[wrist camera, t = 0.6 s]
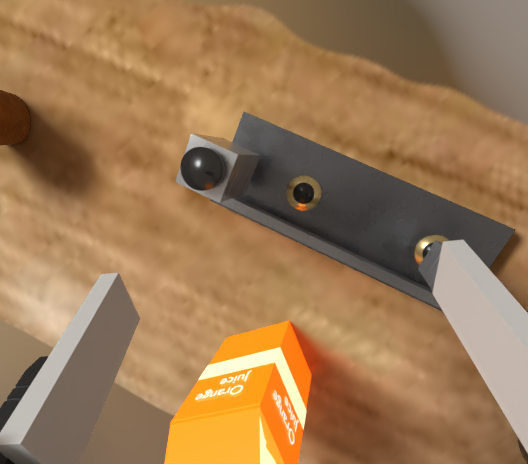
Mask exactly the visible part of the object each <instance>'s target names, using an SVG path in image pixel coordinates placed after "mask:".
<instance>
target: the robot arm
mask: <svg viewBox="0 0 528 464" xmlns="http://www.w3.org/2000/svg"><path fill="white" fill-rule="evenodd" d="M432 294H433V295H434V297H435V299H436V300H437V302H438V304H439V306H440V307H441V309H442V311H443V312H444V314H445V316H446V317H447V319H448V321H449V322H450V324H451V326H452V327H453V329H454V331H455V332H456V334H457V336H458V337H459V339H460V341H461V342H462V344H463V346H464V347H465V349H466V351H467V352H468V354H469V356H470V358H471V359H472V361H473V363H474V364H475V366H476V368H477V369H478V371H479V373H480V374H481V376H482V378H483V379H484V381H485V383H486V384H487V386H488V388H489V389H490V391H491V393H492V394H493V396H494V398H495V399H496V401H497V403H498V405H499V406H500V408H501V410H502V411H503V413H504V415H505V416H506V418H507V420H508V421H509V423H510V425H511V426H512V428H513V430H514V431H515V433H516V435H517V436H518V443H519V447H520V450H521V453H522V455H523V457H524V458H525V460H526V462H527V464H528V313H527V312H526V311H525V310H524V308H523V307H522V306H521V305H520V304H519V303H518V302H517V300H516V299H515V298H514V297H513V296H512V295H511V294H510V292H509V291H508V290H507V289H506V288H505V287H504V286H503V284H502V283H501V282H500V281H499V280H498V279H497V278H496V276H495V275H494V274H493V273H492V272H491V271H490V270H489V268H488V267H487V266H486V265H485V264H484V263H483V262H482V260H481V259H480V258H479V257H478V256H477V255H476V254H475V252H474V251H473V250H472V249H471V248H470V247H469V246H468V244H467V243H466V242H465V241H464V240H454V241H444V242H443V243H442V248H441V253H440V258H439V263H438V268H437V273H436V278H435V283H434V288H433V293H432ZM139 320H140V317H139V315H138V313H137V311H136V309H135V307H134V305H133V302H132V300H131V298H130V296H129V294H128V292H127V290H126V288H125V285H124V283H123V281H122V279H121V277H120V275H119V273H110V274H101V275H100V277H99V278H98V280H97V281H96V283H95V285H94V286H93V288H92V289H91V291H90V292H89V294H88V296H87V297H86V299H85V300H84V302H83V303H82V305H81V307H80V308H79V310H78V311H77V313H76V314H75V316H74V317H73V319H72V321H71V322H70V324H69V325H68V327H67V328H66V330H65V332H64V333H63V335H62V336H61V338H60V339H59V341H58V343H57V344H56V346H55V347H54V349H53V350H52V352H51V354H50V355H49V356H45V357H40V358H39V359H38V360H36V361H35V362H34V363H33V364H32V365H31V366H30V367H29V368H28V369H27V370H26V371H25V372H24V374H23V375H22V377H21V379H20V380H19V381H18V383H17V384H16V388H15V389H13V390H12V392H11V393H10V395H9V396H8V398H7V401H5V402H4V403H3V405H2V406H1V408H0V464H80V461H81V459H82V456H83V454H84V452H85V449H86V447H87V444H88V442H89V440H90V437H91V435H92V432H93V430H94V428H95V425H96V423H97V420H98V418H99V415H100V413H101V411H102V408H103V406H104V404H105V401H106V399H107V396H108V394H109V392H110V389H111V387H112V384H113V382H114V380H115V377H116V375H117V372H118V370H119V368H120V365H121V363H122V360H123V358H124V356H125V353H126V351H127V348H128V346H129V344H130V341H131V339H132V336H133V334H134V332H135V329H136V327H137V324H138V322H139Z"/></svg>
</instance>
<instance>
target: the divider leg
mask: <svg viewBox="0 0 528 464" xmlns="http://www.w3.org/2000/svg"><path fill="white" fill-rule="evenodd" d="M260 156H261V155H259V154H257V153H255V152H253V151H251V150H248V149H246V148H244V147H242V146H239V145H237V144H235V143H233V142H231V141H228V140H226V139H224V138H218V137H212V136H205V135H199V134H192V133H191V136H190V139H189V142H188V145H187V148H186V151H185V154H184V156H183V158H182V161H181V166H180V169H179V172H178V175H177V178H176V181H175V182H177V183H179V184H181V185H183V186H185V187H187V188H189V189H191V190H193V191H195V192H197V193H200V194H202V195H204V196H206V197H208V198H210V199H212V200H214V201H216V202H218V203H221V202H224V201H227V200H229V199H232V198H235V197H238V196H240V195H243V194H245V193H246V190H247V188H248V185H249V183H250V180H251V178H252V175H253V173H254V170H255V168H256V166H257V163H258V161H259V158H260Z"/></svg>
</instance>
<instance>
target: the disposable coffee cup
mask: <svg viewBox="0 0 528 464" xmlns="http://www.w3.org/2000/svg"><path fill="white" fill-rule="evenodd" d="M30 125H31V124H30V115H29V112H28V109H27V107H26V105H25V104H24V103H23V101H22V100H21V99H20V98H19V97H18V96H16V95H14V94H11V93H8V92H5V91H2V90H0V145H10V144H18V143H21V142H22V141H24V140H25V138H26V137H27V136H28V134H29V131H30Z"/></svg>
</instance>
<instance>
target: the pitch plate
mask: <svg viewBox="0 0 528 464" xmlns="http://www.w3.org/2000/svg"><path fill="white" fill-rule="evenodd" d="M233 143H235V144H237V145H239V146H242V147H244V148H246V149H248V150H251V151H253V152H255V153H257V154H259V155H261V156H260V158H259V161H258V163H257V166H256V168H255V170H254V173H253V175H252V178H251V180H250V183H249V185H248V188H247V190H246V193H245V194H243V195H240V196H238V197H235V198H232V199H229V200H227V201H224V202H221V203H218V202H216V201H214V200H212V199H211V201H213V202H215V203H217V204H219V205H221V206H223V207H225V208H227V209H229V210H232V211H234V212H236V213H238V214H240V215H242V216H244V217H246V218H248V219H250V220H252V221H255V222H257V223H259V224H261V225H263V226H265V227H267V228H269V229H271V230H273V231H276V232H278V233H280V234H282V235H284V236H286V237H288V238H290V239H292V240H294V241H296V242H299V243H301V244H303V245H305V246H307V247H309V248H311V249H313V250H315V251H317V252H319V253H322V254H324V255H326V256H328V257H330V258H332V259H334V260H336V261H338V262H340V263H342V264H345V265H347V266H349V267H351V268H353V269H355V270H357V271H359V272H361V273H363V274H365V275H368V276H370V277H372V278H374V279H376V280H378V281H380V282H382V283H384V284H386V285H388V286H391V287H393V288H395V289H397V290H399V291H401V292H403V293H405V294H407V295H409V296H411V297H414V298H416V299H418V300H420V301H422V302H424V303H426V304H428V305H430V306H432V307H434V308H437V309H439V310H441V311H442V309H441V307H440V306H439V304H438V302H437V300H436V299H435V297H434V295H433V294H432V293H433V288H434V283H435V278H436V273H437V268H438V263H439V258H440V253H441V248H442V243H443V242H444V241H454V240H464V241H465V242H466V243H467V244H468V246H469V247H470V248H471V249H472V250H473V251H474V252H475V254H476V255H477V256H478V257H479V258H480V259H481V260H482V262H483V263H484V264H485V265H486V266H487V267H488V268H490V266H491V265H492V263H493V262H494V260H495V259H496V257H497V256H498V255H499V253H500V252H501V250H502V249H503V247H504V246H505V244H506V243H507V241H508V240H509V238H510V237H511V236H512V234H513V233H514V231H515V229H513V228H510V227H508V226H506V225H503V224H501V223H499V222H496V221H494V220H492V219H490V218H487V217H485V216H483V215H480V214H478V213H476V212H473V211H471V210H469V209H467V208H464V207H462V206H460V205H457V204H455V203H453V202H451V201H448V200H446V199H444V198H441V197H439V196H437V195H434V194H432V193H430V192H428V191H425V190H423V189H421V188H418V187H416V186H414V185H411V184H409V183H407V182H405V181H402V180H400V179H398V178H395V177H393V176H391V175H388V174H386V173H384V172H382V171H379V170H377V169H375V168H372V167H370V166H368V165H365V164H363V163H361V162H359V161H356V160H354V159H352V158H349V157H347V156H345V155H342V154H340V153H338V152H336V151H333V150H331V149H329V148H326V147H324V146H322V145H320V144H317V143H315V142H313V141H310V140H308V139H306V138H303V137H301V136H299V135H297V134H294V133H292V132H290V131H287V130H285V129H283V128H280V127H278V126H276V125H274V124H271V123H269V122H267V121H264V120H262V119H260V118H257V117H255V116H253V115H251V114H248V113H246V112H244V113H243V115H242V118H241V121H240V123H239V126H238V129H237V131H236V134H235V137H234V139H233ZM496 278H497V277H496ZM497 279H498V278H497ZM498 280H499V279H498ZM499 281H500V282H501V283H502V284H503V285H504V283H503V282H502V281H501V280H499Z"/></svg>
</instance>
